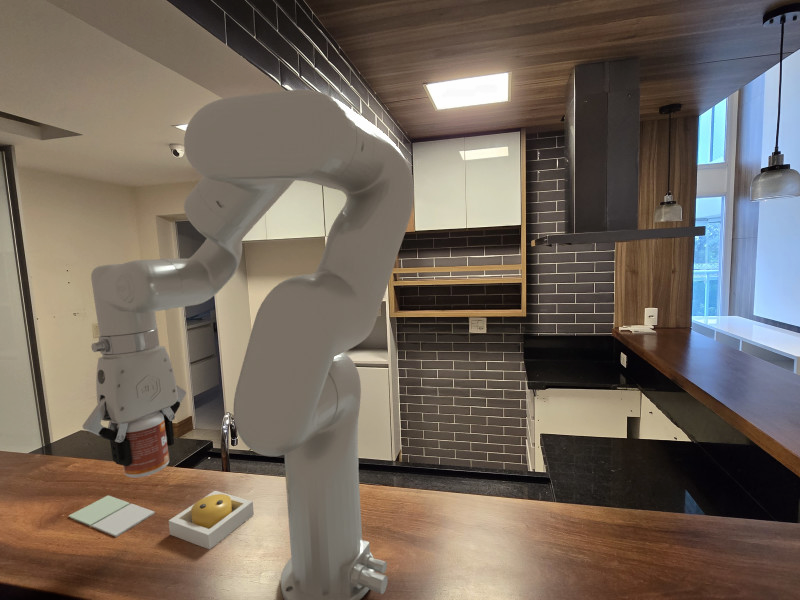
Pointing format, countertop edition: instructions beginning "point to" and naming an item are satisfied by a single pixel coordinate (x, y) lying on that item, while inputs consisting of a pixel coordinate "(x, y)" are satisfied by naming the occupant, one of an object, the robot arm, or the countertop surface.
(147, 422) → the pill bottle
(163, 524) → the countertop surface
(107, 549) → the countertop surface
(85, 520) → the pale green square tile
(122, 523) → the grey square tile
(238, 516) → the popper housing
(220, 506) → the dome
